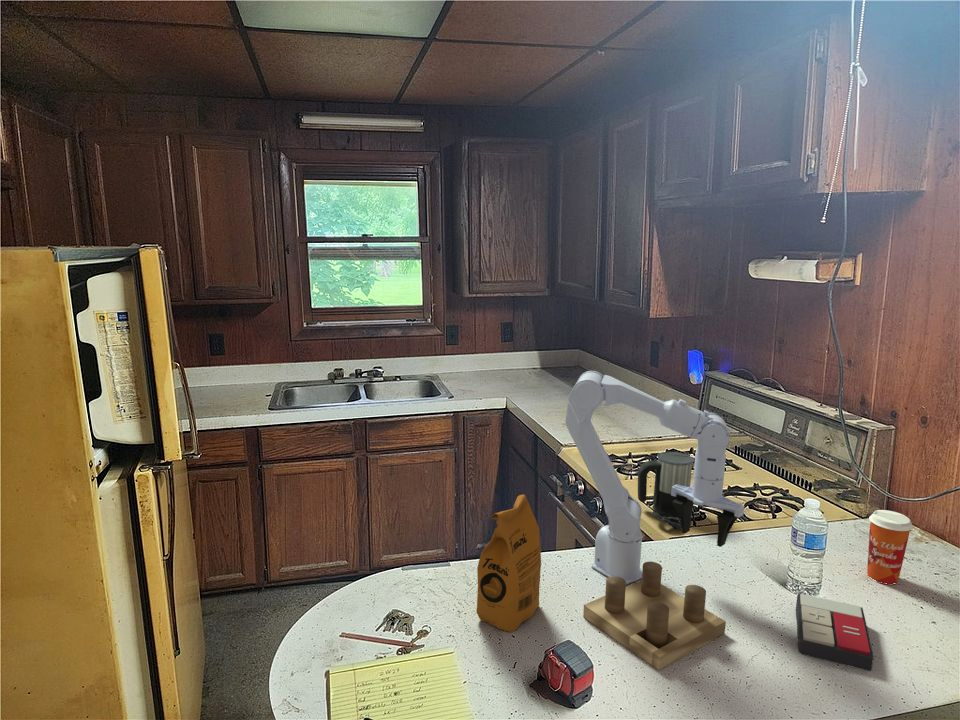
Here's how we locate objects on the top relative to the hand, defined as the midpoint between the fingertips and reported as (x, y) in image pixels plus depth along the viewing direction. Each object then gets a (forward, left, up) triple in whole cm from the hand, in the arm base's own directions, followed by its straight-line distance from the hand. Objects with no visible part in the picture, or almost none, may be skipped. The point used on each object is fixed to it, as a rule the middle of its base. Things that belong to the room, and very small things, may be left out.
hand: (703, 538), depth 129 cm
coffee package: (-14, -39, -11) cm, 43 cm away
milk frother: (-24, +21, -11) cm, 34 cm away
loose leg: (+9, -24, -10) cm, 28 cm away
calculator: (+24, +5, -11) cm, 27 cm away
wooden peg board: (+4, -19, -10) cm, 22 cm away
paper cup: (+20, +35, -11) cm, 42 cm away
